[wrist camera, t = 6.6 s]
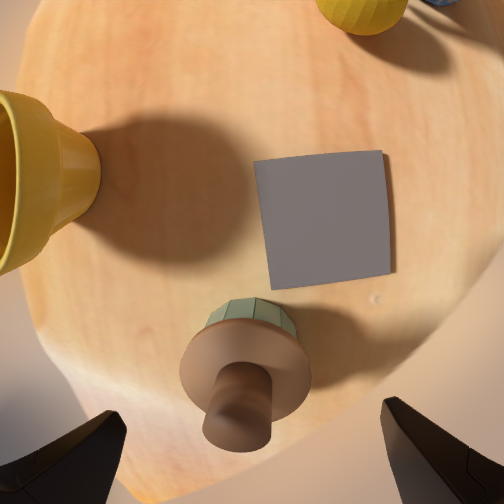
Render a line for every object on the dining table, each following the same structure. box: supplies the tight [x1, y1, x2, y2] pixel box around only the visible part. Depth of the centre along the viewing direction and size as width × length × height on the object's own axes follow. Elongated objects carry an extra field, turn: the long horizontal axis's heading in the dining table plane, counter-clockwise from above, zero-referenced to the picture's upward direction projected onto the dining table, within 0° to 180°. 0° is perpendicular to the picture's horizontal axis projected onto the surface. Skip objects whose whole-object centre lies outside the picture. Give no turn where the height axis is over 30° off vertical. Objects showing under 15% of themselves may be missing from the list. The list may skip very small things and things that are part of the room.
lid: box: [180, 318, 311, 452], centre depth 14 cm, size 8×8×5 cm
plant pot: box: [0, 90, 101, 276], centre depth 13 cm, size 10×10×10 cm
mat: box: [254, 150, 390, 290], centre depth 17 cm, size 8×8×1 cm
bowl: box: [205, 298, 297, 339], centre depth 18 cm, size 7×7×4 cm
